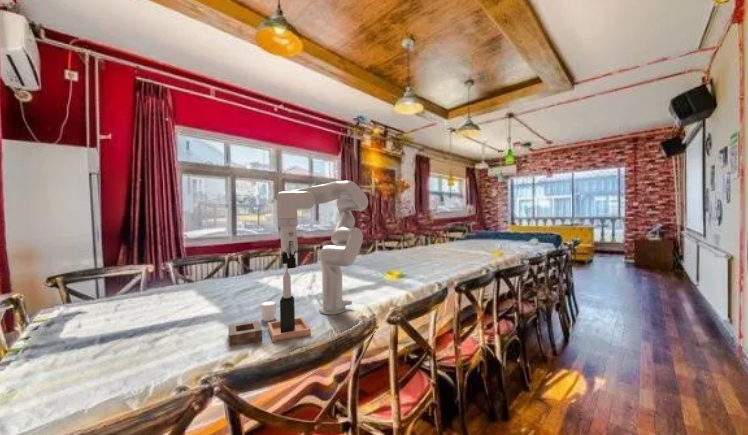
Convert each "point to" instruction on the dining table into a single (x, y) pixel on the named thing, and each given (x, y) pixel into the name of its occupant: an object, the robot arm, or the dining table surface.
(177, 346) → the dining table surface
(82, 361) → the dining table surface
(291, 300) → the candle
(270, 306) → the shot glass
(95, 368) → the dining table surface
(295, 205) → the robot arm
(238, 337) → the block
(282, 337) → the tray
